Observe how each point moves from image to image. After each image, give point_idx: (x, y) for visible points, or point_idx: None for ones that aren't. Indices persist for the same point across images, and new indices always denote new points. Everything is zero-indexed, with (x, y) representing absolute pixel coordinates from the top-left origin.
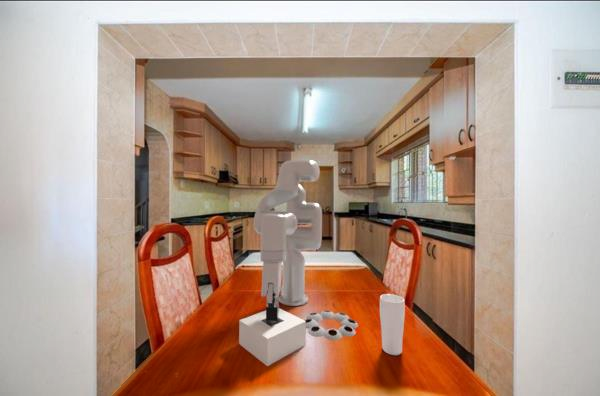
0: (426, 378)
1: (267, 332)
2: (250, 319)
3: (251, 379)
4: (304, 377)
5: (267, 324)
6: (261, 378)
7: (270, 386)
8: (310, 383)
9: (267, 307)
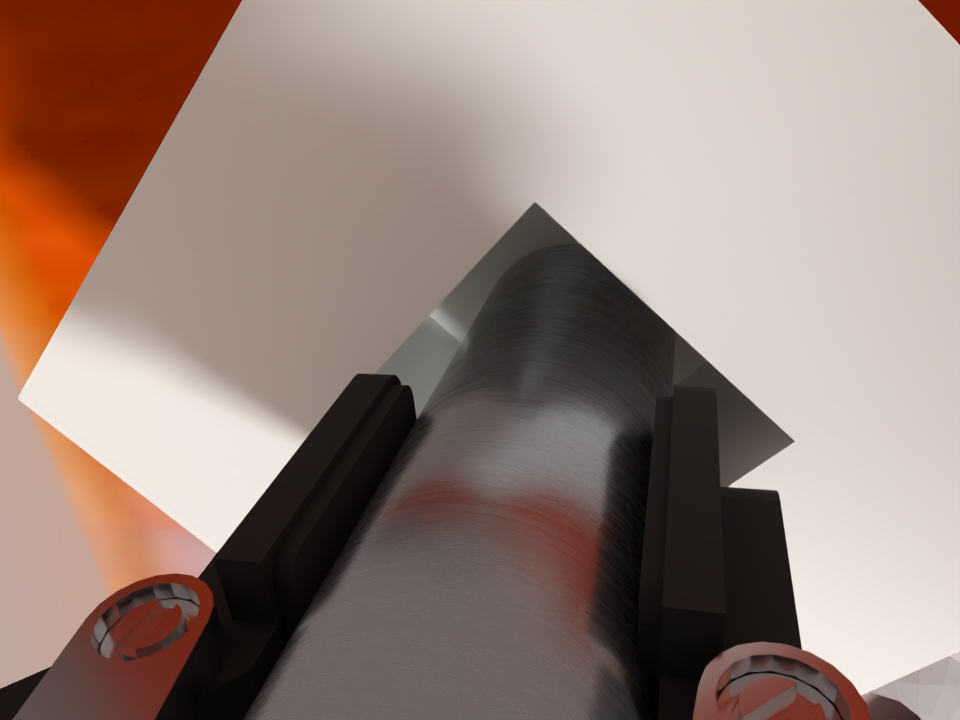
0: None
1: (154, 381)
2: None
3: (25, 148)
4: (186, 535)
5: (473, 331)
6: (68, 234)
7: (24, 317)
8: (147, 562)
9: (238, 571)
